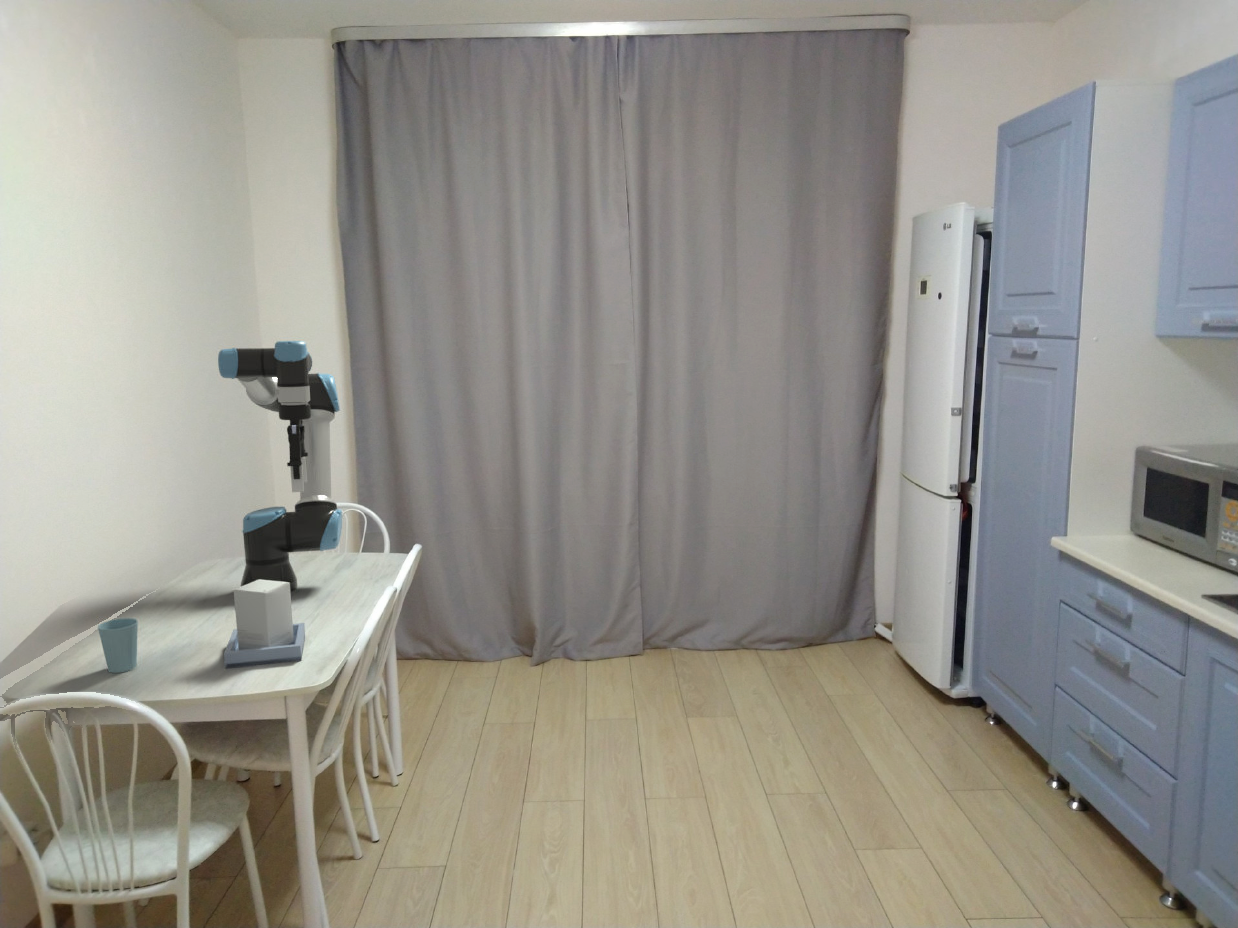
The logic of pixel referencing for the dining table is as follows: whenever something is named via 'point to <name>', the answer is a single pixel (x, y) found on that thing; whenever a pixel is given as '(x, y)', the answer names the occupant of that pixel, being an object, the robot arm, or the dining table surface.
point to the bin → (265, 651)
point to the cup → (119, 644)
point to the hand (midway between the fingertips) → (299, 487)
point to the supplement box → (263, 614)
